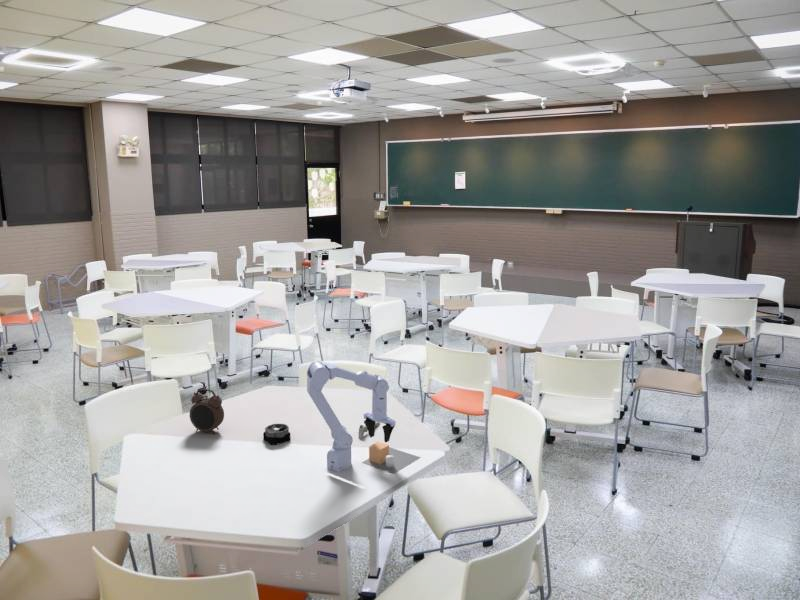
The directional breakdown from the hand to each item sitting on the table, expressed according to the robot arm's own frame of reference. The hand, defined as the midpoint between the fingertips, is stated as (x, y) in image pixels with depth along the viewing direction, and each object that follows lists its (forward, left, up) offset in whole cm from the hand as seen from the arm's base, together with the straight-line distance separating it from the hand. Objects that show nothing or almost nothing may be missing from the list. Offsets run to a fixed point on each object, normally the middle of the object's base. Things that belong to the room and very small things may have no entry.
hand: (379, 439), depth 244 cm
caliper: (+21, +22, -10) cm, 32 cm away
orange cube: (-1, -1, -8) cm, 8 cm away
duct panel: (+2, -5, -9) cm, 11 cm away
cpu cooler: (-11, +48, -10) cm, 51 cm away
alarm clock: (-24, +79, -10) cm, 83 cm away
